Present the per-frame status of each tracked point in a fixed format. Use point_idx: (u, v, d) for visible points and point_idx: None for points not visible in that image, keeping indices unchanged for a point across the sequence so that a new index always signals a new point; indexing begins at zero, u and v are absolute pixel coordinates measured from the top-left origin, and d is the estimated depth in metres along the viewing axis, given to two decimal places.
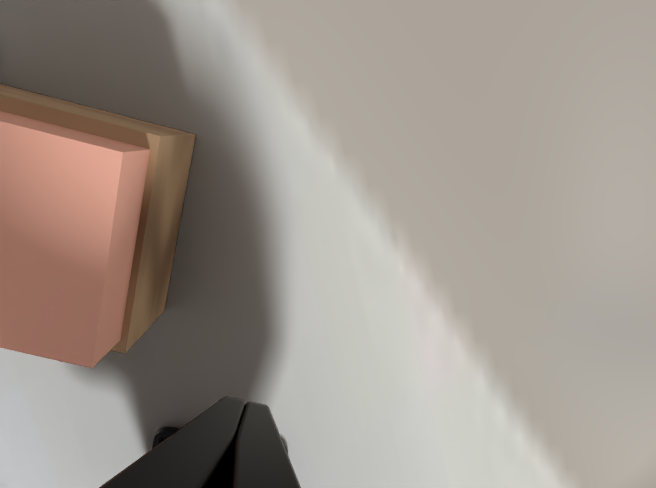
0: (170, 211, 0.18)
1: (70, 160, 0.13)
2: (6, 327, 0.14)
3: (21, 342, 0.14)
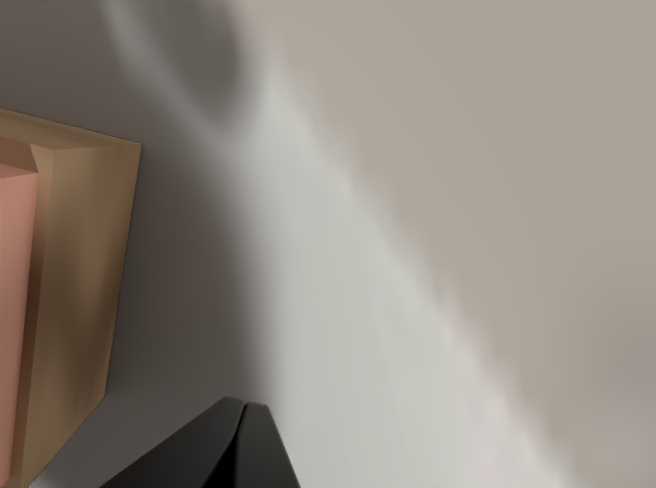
0: (99, 262, 0.11)
1: None
2: None
3: None
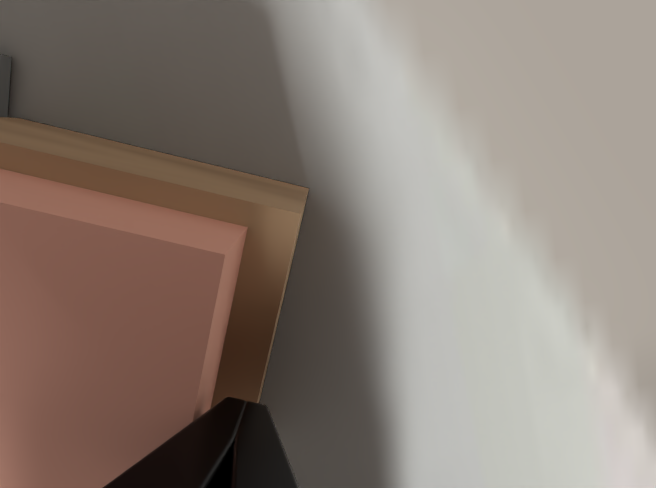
0: (280, 307, 0.12)
1: (125, 270, 0.07)
2: None
3: None
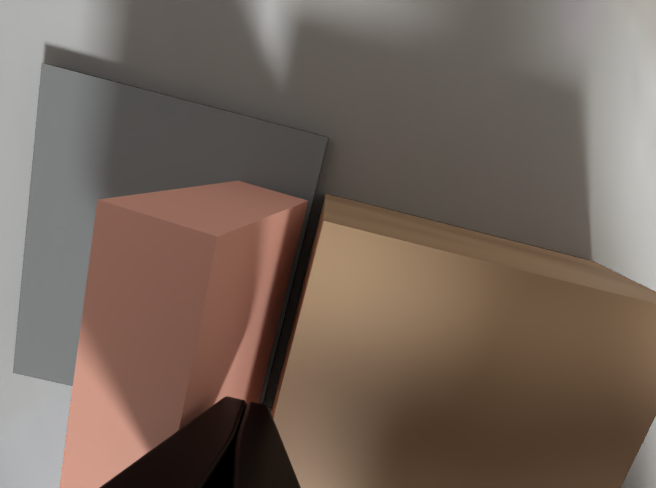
0: None
1: None
2: None
3: None
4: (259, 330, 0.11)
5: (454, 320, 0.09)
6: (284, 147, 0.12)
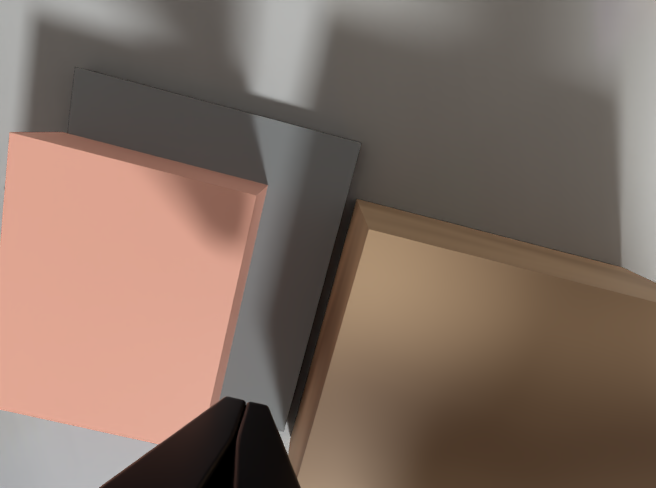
0: None
1: None
2: None
3: None
4: (153, 298, 0.11)
5: (496, 329, 0.09)
6: (316, 152, 0.12)
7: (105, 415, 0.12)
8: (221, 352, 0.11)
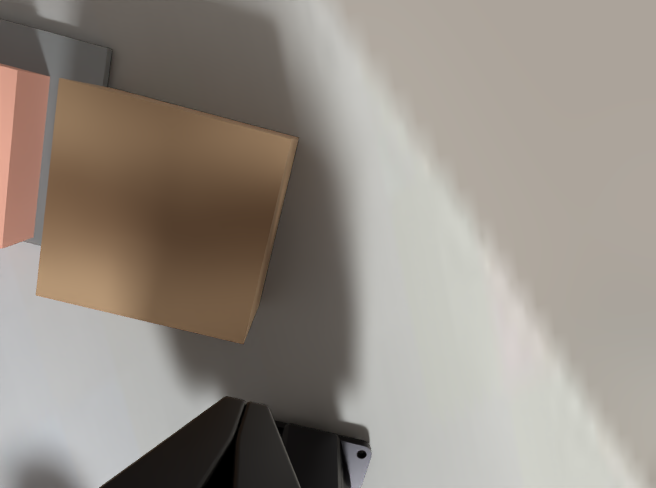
0: (279, 210, 0.19)
1: None
2: None
3: None
4: None
5: (144, 141, 0.16)
6: (79, 54, 0.18)
7: None
8: (8, 177, 0.18)
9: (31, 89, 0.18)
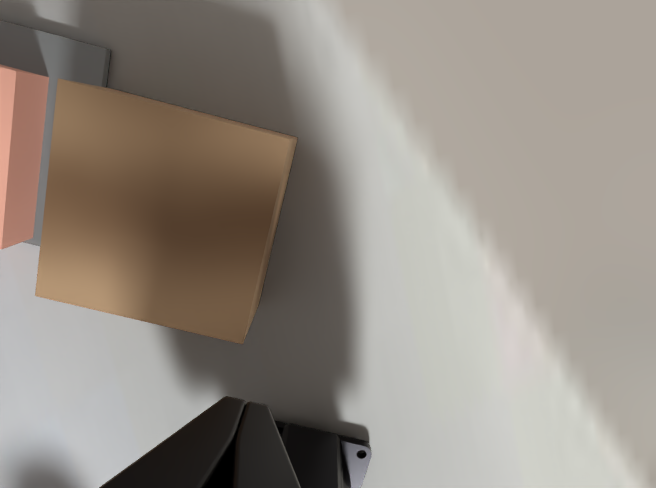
0: (278, 210, 0.19)
1: None
2: None
3: None
4: None
5: (143, 142, 0.16)
6: (78, 55, 0.18)
7: None
8: (8, 177, 0.18)
9: (30, 90, 0.18)
